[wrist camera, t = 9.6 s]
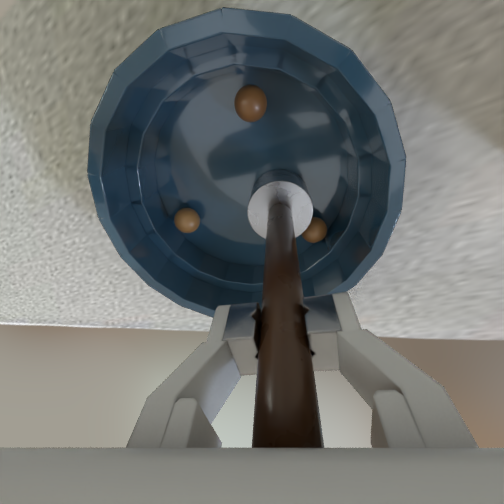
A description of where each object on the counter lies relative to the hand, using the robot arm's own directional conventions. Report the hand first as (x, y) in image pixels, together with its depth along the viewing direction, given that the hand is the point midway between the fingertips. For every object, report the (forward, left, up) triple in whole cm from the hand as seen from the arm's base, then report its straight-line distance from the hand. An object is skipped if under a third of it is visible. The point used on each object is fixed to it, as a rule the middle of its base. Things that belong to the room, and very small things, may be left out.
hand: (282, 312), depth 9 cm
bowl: (-1, -2, -13) cm, 13 cm away
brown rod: (0, 0, -12) cm, 12 cm away
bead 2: (-7, -1, -11) cm, 13 cm away
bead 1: (0, -7, -11) cm, 13 cm away
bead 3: (+3, +2, -11) cm, 12 cm away
